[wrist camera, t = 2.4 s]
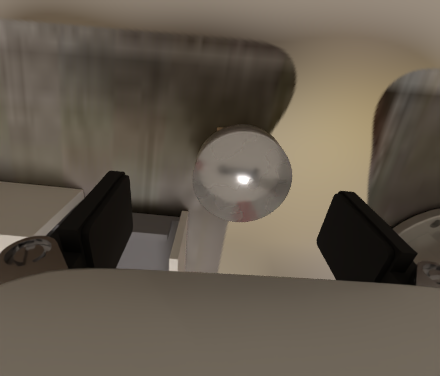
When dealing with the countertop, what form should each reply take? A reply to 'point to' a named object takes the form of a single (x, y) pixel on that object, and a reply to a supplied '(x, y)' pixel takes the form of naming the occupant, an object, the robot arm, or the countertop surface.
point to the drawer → (154, 242)
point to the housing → (33, 209)
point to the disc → (241, 173)
